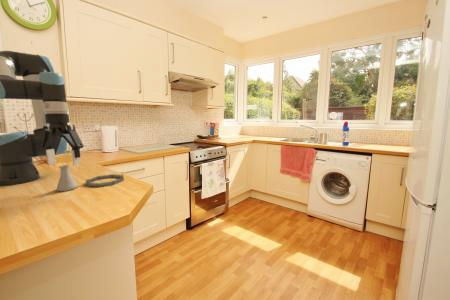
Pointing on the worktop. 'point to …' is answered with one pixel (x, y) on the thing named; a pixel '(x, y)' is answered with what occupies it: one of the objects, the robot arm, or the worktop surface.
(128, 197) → the worktop surface
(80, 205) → the worktop surface
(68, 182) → the flask
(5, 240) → the worktop surface
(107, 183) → the collar
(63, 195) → the worktop surface
